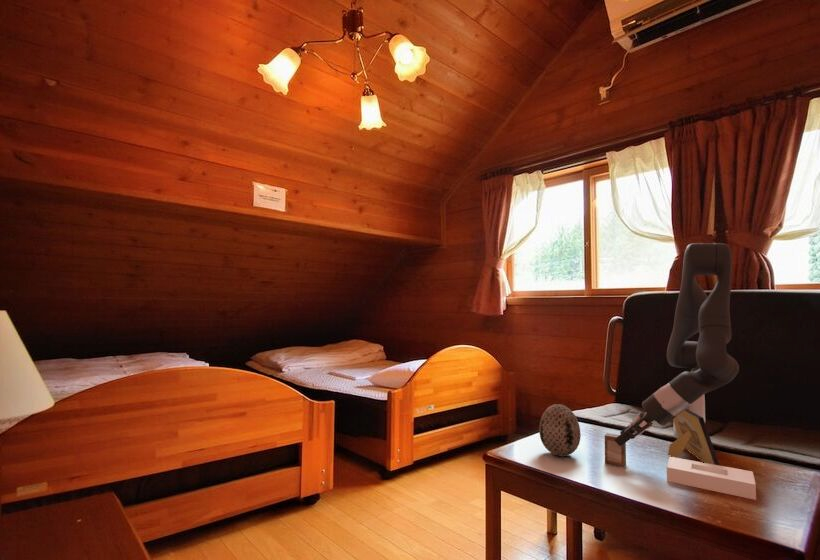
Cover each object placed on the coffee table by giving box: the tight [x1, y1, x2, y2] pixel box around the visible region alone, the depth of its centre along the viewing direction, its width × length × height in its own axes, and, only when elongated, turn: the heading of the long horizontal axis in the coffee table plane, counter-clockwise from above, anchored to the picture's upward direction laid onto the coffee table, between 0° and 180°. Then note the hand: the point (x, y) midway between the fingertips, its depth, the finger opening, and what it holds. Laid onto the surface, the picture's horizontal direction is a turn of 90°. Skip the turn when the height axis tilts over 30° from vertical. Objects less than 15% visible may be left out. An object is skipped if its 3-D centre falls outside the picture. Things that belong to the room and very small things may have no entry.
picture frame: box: [667, 409, 721, 466], centre depth 130 cm, size 23×9×15 cm, turn 168°
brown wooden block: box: [604, 432, 627, 469], centre depth 123 cm, size 3×5×8 cm, turn 55°
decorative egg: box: [538, 403, 582, 457], centre depth 130 cm, size 12×12×15 cm
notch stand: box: [666, 456, 757, 501], centre depth 110 cm, size 10×18×4 cm, turn 55°
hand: (619, 439), depth 123 cm, fingers open, 8 cm apart
